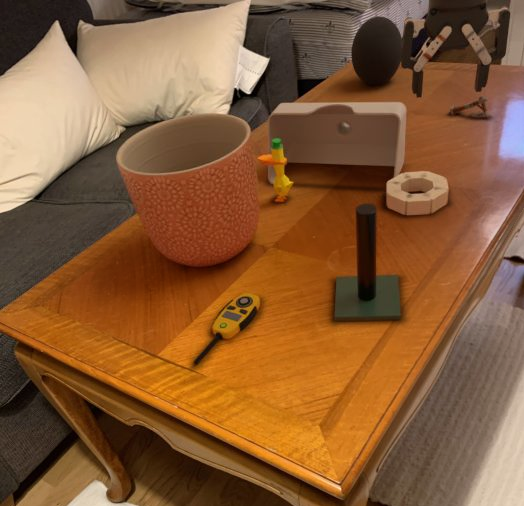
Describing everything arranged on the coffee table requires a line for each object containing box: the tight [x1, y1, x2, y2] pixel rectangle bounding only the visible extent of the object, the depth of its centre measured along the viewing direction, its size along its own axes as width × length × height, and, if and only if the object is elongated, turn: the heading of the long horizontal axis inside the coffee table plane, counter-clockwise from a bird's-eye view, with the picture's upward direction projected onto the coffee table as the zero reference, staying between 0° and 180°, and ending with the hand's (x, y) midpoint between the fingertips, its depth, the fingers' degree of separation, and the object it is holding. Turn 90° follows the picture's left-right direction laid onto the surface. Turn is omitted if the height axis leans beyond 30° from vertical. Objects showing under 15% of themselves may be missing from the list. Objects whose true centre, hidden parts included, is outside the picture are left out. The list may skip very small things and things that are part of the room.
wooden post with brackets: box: [449, 95, 490, 119], centre depth 110 cm, size 2×8×4 cm, turn 50°
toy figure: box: [256, 138, 295, 203], centre depth 95 cm, size 7×4×12 cm, turn 64°
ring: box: [385, 170, 450, 216], centre depth 91 cm, size 11×11×3 cm
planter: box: [115, 112, 260, 268], centre depth 85 cm, size 21×21×19 cm
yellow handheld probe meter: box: [193, 292, 261, 365], centre depth 74 cm, size 5×2×15 cm
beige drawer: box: [267, 101, 407, 185], centre depth 100 cm, size 25×16×12 cm, turn 68°
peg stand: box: [333, 203, 402, 322], centre depth 70 cm, size 9×9×15 cm
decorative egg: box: [350, 16, 403, 86], centre depth 127 cm, size 12×12×15 cm
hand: (447, 93), depth 79 cm, fingers open, 8 cm apart
